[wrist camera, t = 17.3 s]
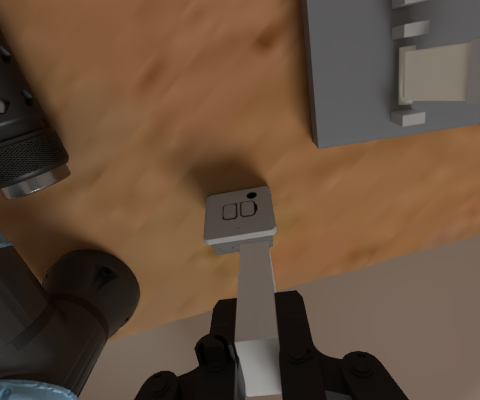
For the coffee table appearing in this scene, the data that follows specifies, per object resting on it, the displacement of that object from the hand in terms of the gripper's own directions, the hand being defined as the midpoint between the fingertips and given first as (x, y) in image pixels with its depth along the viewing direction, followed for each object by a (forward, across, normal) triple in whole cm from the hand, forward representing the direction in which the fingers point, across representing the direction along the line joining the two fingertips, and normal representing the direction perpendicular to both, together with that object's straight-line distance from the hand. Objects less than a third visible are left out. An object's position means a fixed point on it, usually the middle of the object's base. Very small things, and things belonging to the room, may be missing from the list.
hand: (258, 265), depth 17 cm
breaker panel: (+29, -18, -12) cm, 37 cm away
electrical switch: (+30, +3, +9) cm, 31 cm away
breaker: (+24, -18, -6) cm, 31 cm away
